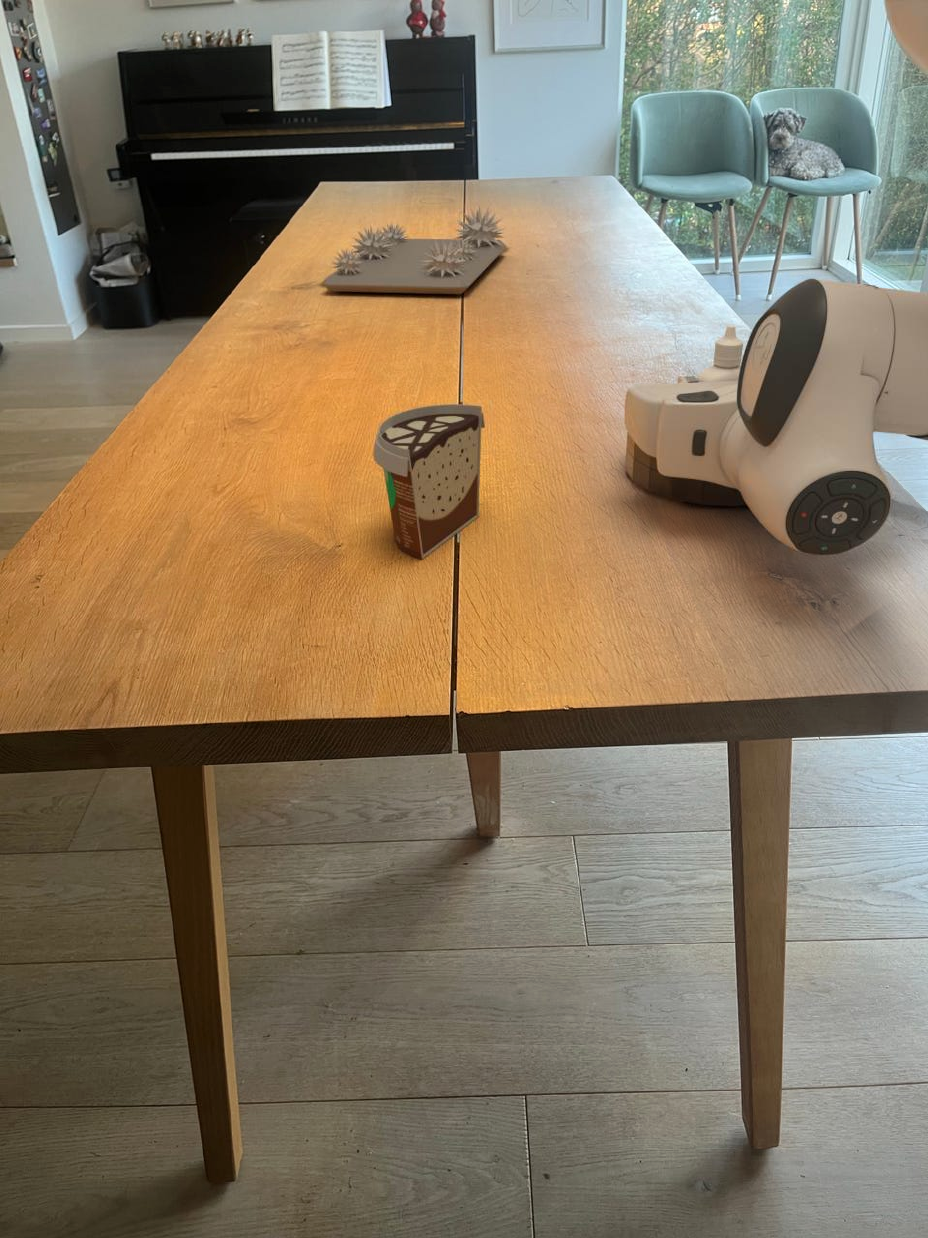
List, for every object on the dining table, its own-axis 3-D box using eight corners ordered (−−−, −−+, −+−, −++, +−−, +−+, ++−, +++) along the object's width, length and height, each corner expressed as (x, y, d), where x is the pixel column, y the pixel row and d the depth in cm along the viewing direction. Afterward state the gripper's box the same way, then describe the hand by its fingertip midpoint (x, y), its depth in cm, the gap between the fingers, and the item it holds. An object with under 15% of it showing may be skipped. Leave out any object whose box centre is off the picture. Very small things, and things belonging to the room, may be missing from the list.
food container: (430, 498, 93) (424, 394, 87) (486, 510, 90) (484, 404, 85) (351, 551, 84) (340, 439, 78) (412, 567, 81) (404, 451, 76)
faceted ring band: (843, 472, 95) (852, 422, 92) (739, 528, 85) (746, 474, 82) (695, 429, 106) (700, 383, 103) (589, 474, 96) (591, 425, 94)
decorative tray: (382, 253, 194) (378, 199, 189) (511, 255, 188) (511, 199, 183) (320, 295, 165) (314, 232, 160) (471, 299, 159) (469, 234, 154)
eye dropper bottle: (685, 444, 96) (696, 320, 90) (744, 445, 96) (759, 320, 90) (689, 461, 93) (701, 332, 87) (750, 462, 92) (767, 332, 86)
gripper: (901, 391, 78) (837, 344, 90) (646, 402, 78) (615, 353, 90) (886, 465, 82) (826, 410, 93) (641, 476, 81) (612, 420, 93)
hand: (721, 382), depth 92 cm, fingers closed on eye dropper bottle, 5 cm apart
